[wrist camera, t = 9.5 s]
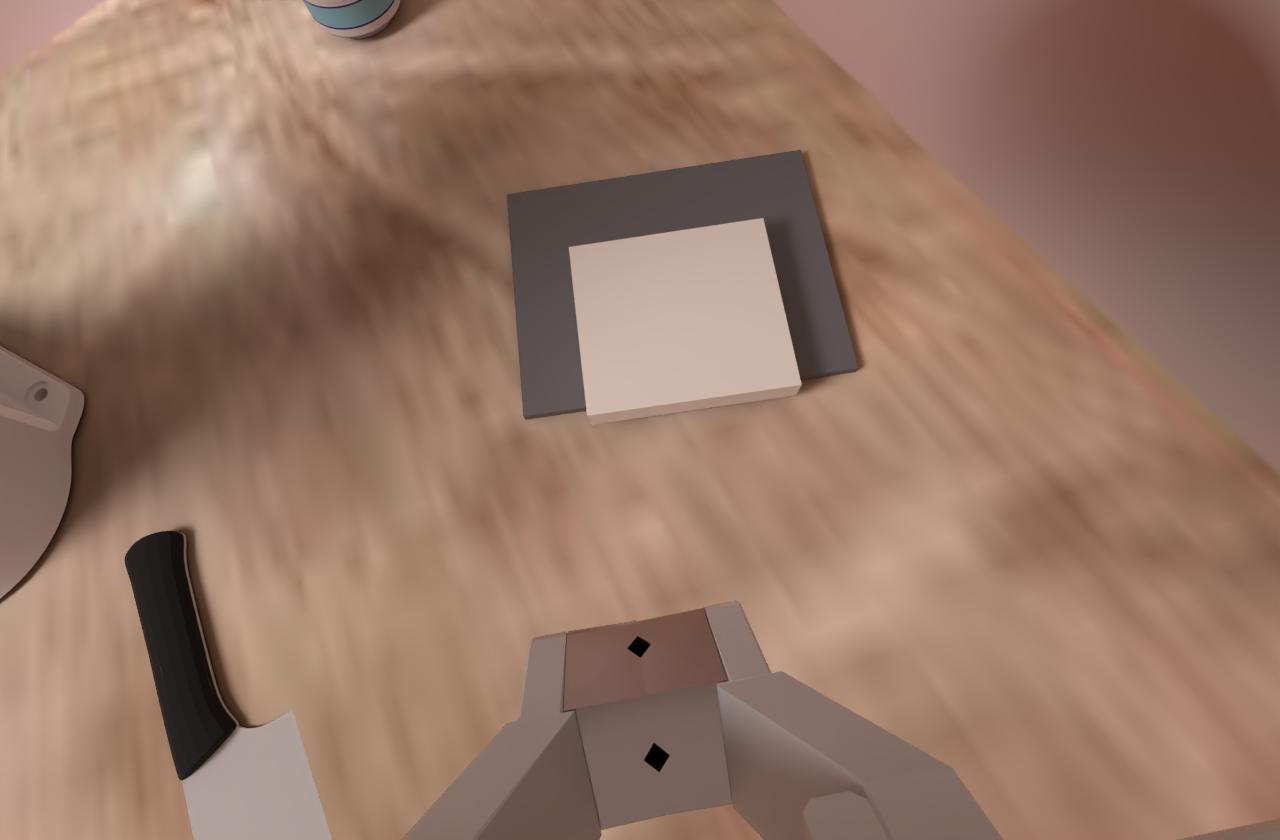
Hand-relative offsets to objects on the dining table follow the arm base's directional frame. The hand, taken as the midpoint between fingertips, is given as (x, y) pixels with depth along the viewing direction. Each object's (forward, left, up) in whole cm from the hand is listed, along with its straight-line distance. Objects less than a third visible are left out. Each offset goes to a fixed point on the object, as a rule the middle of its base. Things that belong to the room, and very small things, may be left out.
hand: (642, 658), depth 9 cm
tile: (-6, +10, -23) cm, 26 cm away
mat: (-12, +17, -25) cm, 32 cm away
